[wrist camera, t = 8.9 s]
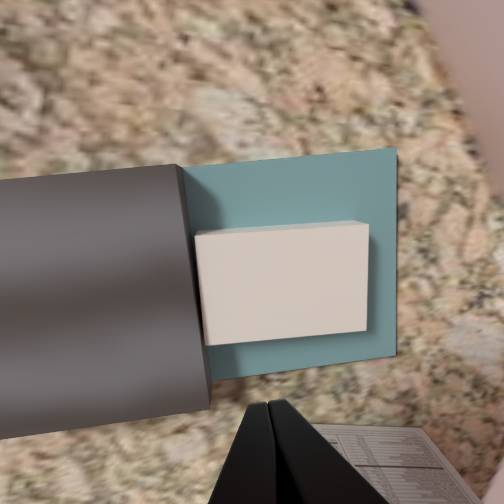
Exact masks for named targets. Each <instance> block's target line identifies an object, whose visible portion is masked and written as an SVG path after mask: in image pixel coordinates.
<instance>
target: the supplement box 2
mask: <svg viewBox="0 0 504 504" xmlns="http://www.w3.org/2000/svg"><path fill="white" fill-rule="evenodd" d="M311 425H312V426H313V427H314V428H315V429H316V430H317V431H318V432H319V433H320V434H321V435H322V436H323V437H324V438H325V439H326V440H327V441H328V442H329V443H330V444H331V445H332V446H333V447H334V448H335V449H336V450H337V451H338V452H339V453H340V454H341V455H342V456H343V457H344V458H345V459H346V460H347V461H348V462H349V463H350V464H351V465H352V466H353V467H354V468H355V469H356V470H357V471H358V472H359V473H360V474H361V475H362V476H363V477H364V478H365V479H366V480H367V481H368V482H369V483H370V484H371V485H372V486H373V487H374V488H375V489H376V490H377V491H378V492H379V493H380V494H381V495H382V496H383V497H384V498H385V499H386V500H387V501H388V502H389V503H390V504H483V503H482V502H481V500H480V499H479V498H478V497H477V495H476V494H475V493H474V492H473V490H472V489H471V488H470V487H469V486H468V484H467V483H466V482H465V481H464V480H463V478H462V477H461V476H460V474H459V473H458V472H457V471H456V469H455V468H454V467H453V466H452V465H451V463H450V462H449V461H448V460H447V458H446V457H445V456H444V455H443V454H442V452H441V451H440V450H439V449H438V447H437V446H436V445H435V444H434V443H433V441H432V440H431V439H430V438H429V436H428V435H427V434H426V433H425V432H424V431H423V429H422V428H414V427H386V426H358V425H331V424H311Z"/></svg>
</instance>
